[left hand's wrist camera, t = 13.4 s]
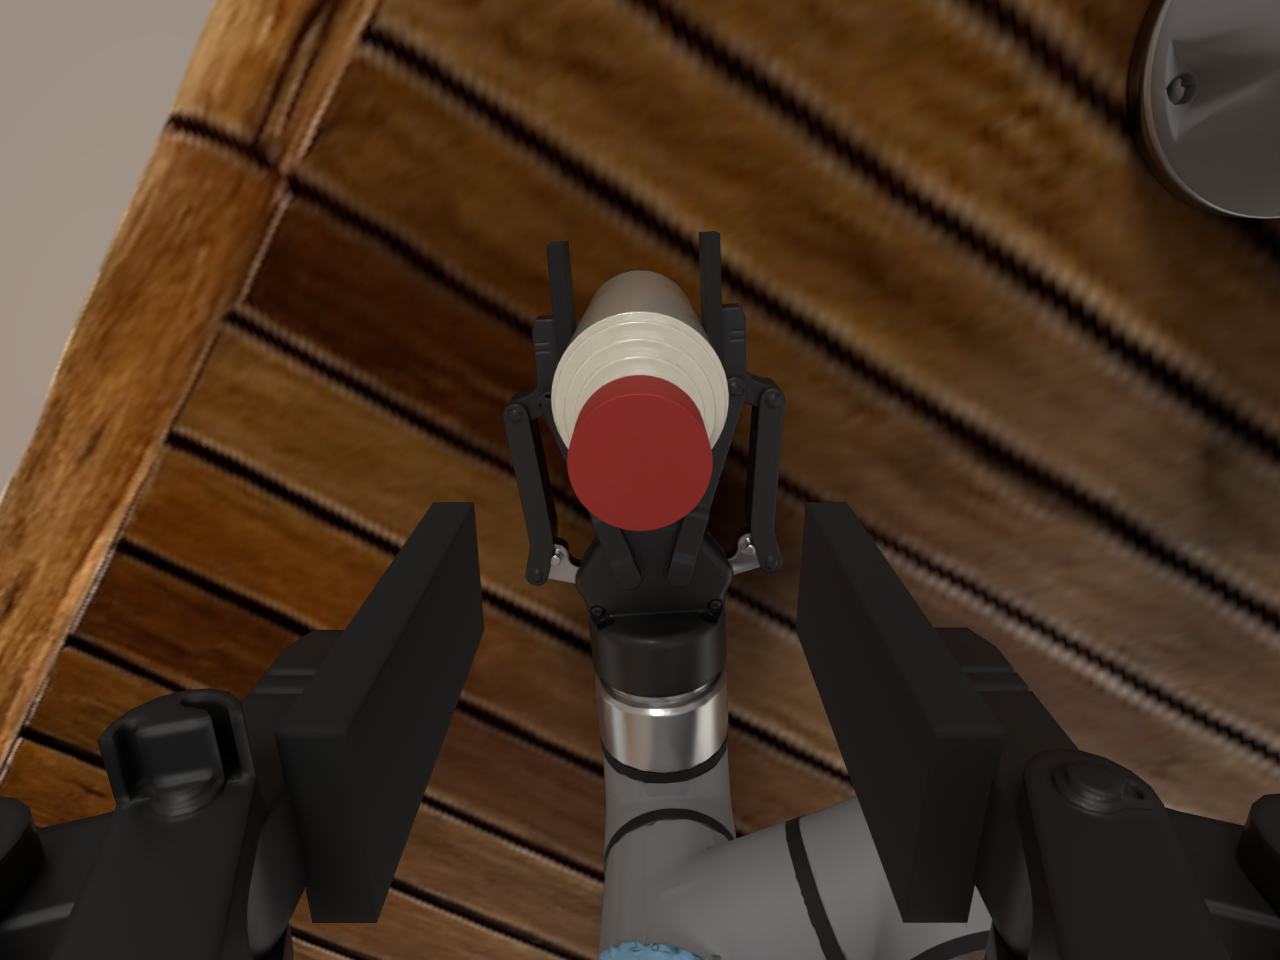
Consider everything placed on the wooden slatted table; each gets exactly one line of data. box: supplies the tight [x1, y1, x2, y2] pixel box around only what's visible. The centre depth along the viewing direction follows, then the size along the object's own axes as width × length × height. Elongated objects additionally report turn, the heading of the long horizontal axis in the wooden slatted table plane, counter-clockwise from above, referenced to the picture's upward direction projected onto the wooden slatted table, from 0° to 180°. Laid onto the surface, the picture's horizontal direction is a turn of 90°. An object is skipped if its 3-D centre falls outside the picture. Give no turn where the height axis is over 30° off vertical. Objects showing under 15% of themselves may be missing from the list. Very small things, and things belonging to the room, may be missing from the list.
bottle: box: [551, 270, 729, 450], centre depth 32 cm, size 6×6×24 cm
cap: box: [567, 375, 713, 531], centre depth 21 cm, size 4×4×2 cm
